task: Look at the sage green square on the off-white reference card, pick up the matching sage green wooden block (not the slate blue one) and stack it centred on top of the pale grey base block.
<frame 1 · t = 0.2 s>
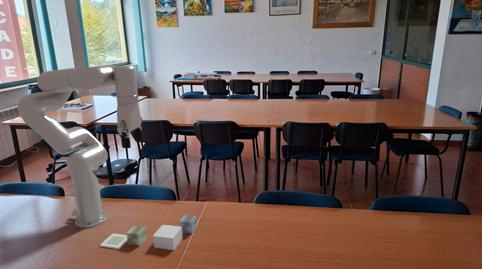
hand: (132, 144, 126), 36 cm above the table, tool pointing down, fingers open, 9 cm apart
slate block: (188, 229, 133), on the table
sage block: (137, 241, 125), on the table
grey base block: (168, 242, 124), on the table
reference card: (115, 241, 125), on the table
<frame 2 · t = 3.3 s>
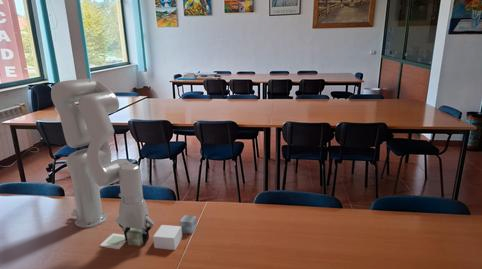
hand: (137, 239, 125), 1 cm above the table, tool pointing down, fingers open, 6 cm apart
nothing on the table moved.
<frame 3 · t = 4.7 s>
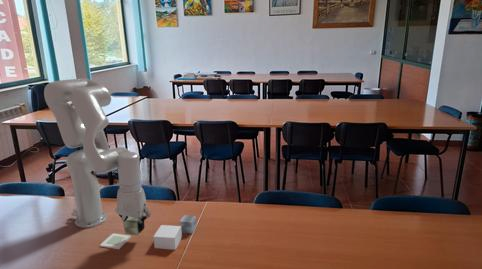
hand: (134, 229, 124), 5 cm above the table, tool pointing down, fingers closed on sage block, 5 cm apart
sage block: (134, 230, 125), point 4 cm above the table, touching gripper
everything else where it was.
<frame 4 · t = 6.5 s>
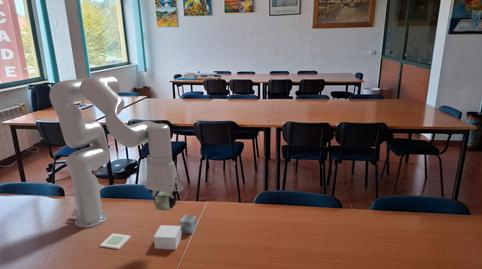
hand: (165, 205, 120), 16 cm above the table, tool pointing down, fingers closed on sage block, 5 cm apart
sage block: (165, 207, 120), point 15 cm above the table, touching gripper
everything else where it was.
when the fingers open (7 cm above the table, at t = 8.8 s): sage block drops 1 cm, resting on grey base block.
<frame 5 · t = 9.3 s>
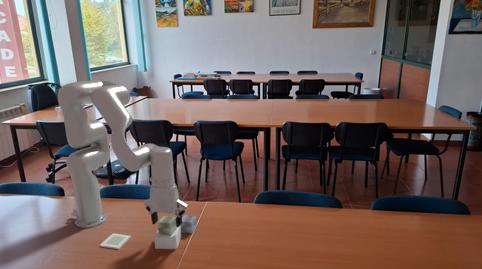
hand: (167, 223, 122), 8 cm above the table, tool pointing down, fingers open, 9 cm apart
sage block: (167, 231, 123), point 5 cm above the table, touching grey base block
grey base block: (168, 242, 124), on the table, touching sage block
everything else where it was.
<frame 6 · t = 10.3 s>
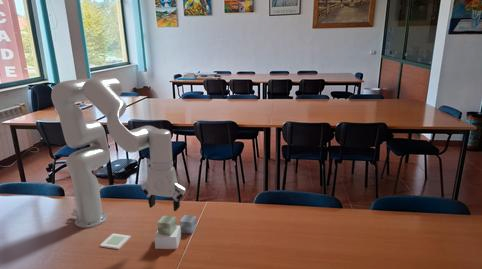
hand: (164, 207, 121), 14 cm above the table, tool pointing down, fingers open, 9 cm apart
nothing on the table moved.
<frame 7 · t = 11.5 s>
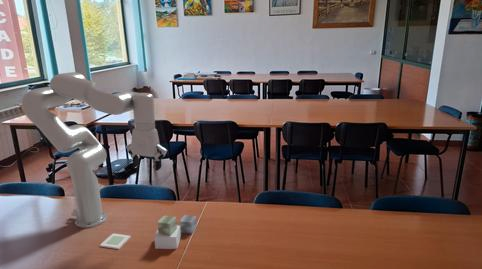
hand: (147, 167, 129), 26 cm above the table, tool pointing down, fingers open, 9 cm apart
nothing on the table moved.
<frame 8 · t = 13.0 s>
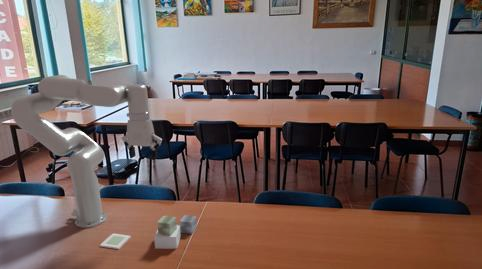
hand: (143, 158, 132), 28 cm above the table, tool pointing down, fingers open, 9 cm apart
nothing on the table moved.
at the end: sage block 0.4 cm off-centre on the grey base block, point 5.0 cm above the grey base block's base; sage block tilted 0°; the gripper is holding nothing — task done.
